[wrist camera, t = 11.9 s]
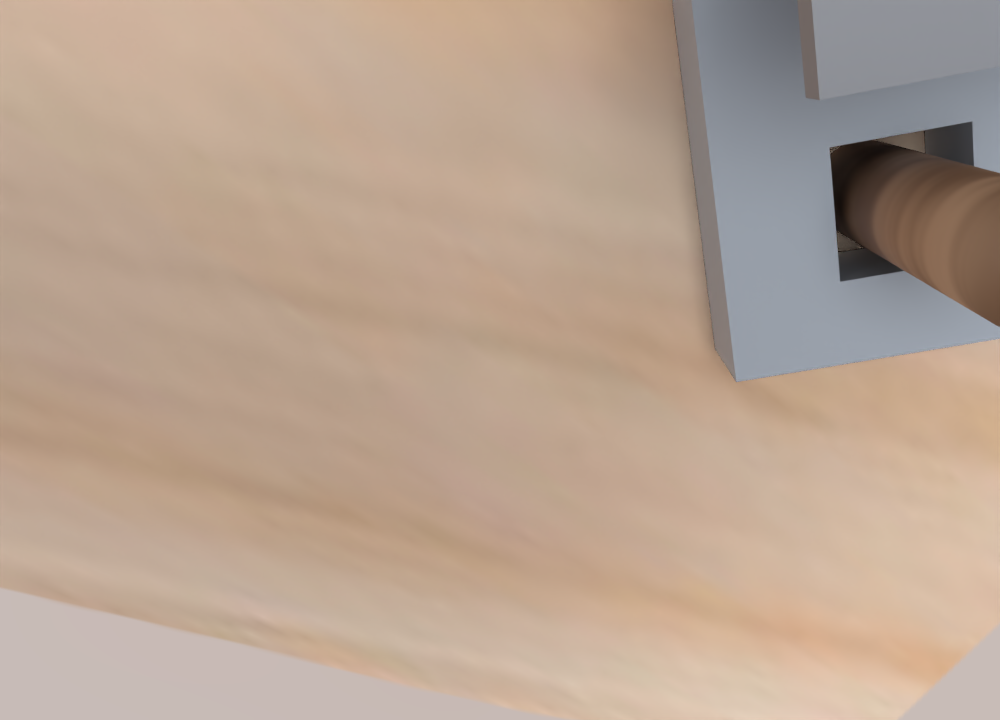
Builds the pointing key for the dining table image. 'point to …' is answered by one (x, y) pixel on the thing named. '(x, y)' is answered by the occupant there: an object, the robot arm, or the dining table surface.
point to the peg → (923, 218)
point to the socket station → (825, 166)
